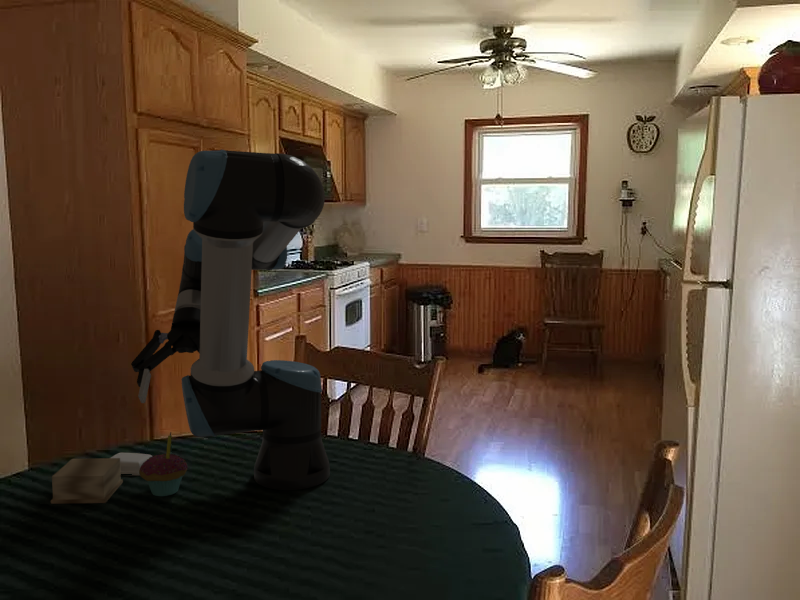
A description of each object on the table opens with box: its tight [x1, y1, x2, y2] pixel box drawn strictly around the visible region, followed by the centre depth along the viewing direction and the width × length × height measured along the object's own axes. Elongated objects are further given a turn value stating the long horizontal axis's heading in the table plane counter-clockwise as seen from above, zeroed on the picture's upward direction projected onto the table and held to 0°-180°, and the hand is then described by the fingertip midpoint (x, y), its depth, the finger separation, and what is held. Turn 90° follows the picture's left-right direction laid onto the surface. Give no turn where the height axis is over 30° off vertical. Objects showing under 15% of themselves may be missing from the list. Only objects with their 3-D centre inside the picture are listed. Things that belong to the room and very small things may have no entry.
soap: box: [110, 452, 153, 476], centre depth 140 cm, size 9×7×3 cm
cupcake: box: [139, 431, 188, 497], centre depth 128 cm, size 9×8×12 cm
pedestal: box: [50, 457, 124, 505], centre depth 128 cm, size 10×10×5 cm
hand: (175, 399), depth 138 cm, fingers open, 13 cm apart
